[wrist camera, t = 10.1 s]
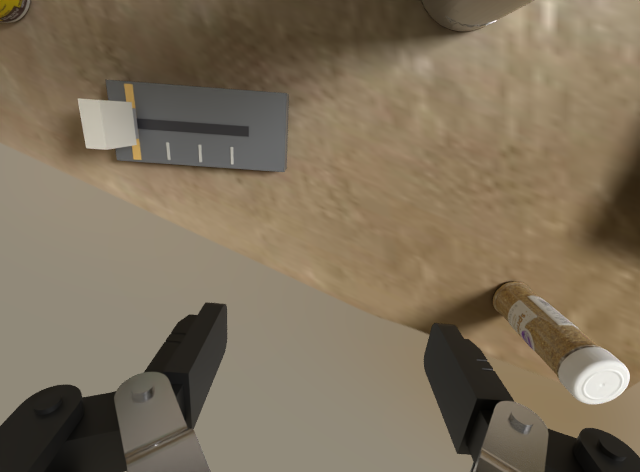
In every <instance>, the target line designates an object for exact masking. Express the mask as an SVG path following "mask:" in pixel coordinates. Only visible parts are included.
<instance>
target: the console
mask: <svg viewBox="0 0 640 472" xmlns="http://www.w3.org/2000/svg"><path fill="white" fill-rule="evenodd" d="M106 87H107V94H108V101H122V102H132V108H135V109H136V118H137V126H138V135H139V139H136V143H137V145H133V146H127V147H121V148H115V149H116V156H117V160H120V161H135V162H149V163H163V164H177V165H192V166H206V167H220V168H234V169H249V170H263V171H277V172H285V170H286V166H287V136H288V106H289V94H287V93H276V92H263V91H250V90H236V89H223V88H210V87H196V86H183V85H170V84H157V83H143V82H130V81H117V80H106Z"/></svg>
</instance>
